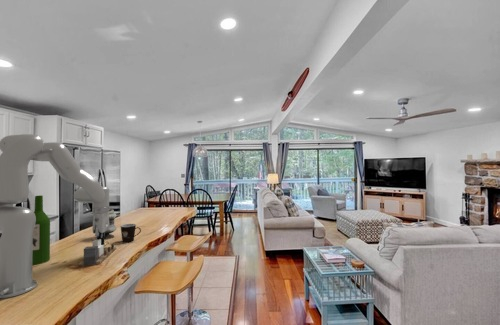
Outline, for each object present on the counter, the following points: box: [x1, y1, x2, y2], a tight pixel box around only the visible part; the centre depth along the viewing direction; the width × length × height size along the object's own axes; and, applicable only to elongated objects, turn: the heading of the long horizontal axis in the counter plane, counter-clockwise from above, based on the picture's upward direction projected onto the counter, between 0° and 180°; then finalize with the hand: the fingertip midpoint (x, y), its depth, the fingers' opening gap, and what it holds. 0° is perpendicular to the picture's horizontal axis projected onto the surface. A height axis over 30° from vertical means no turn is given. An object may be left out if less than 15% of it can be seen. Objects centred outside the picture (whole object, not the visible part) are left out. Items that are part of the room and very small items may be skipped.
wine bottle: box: [32, 195, 51, 266], centre depth 121 cm, size 9×9×32 cm
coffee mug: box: [120, 223, 142, 244], centre depth 153 cm, size 12×9×10 cm
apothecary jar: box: [104, 208, 117, 241], centre depth 162 cm, size 12×12×18 cm
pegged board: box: [78, 240, 117, 267], centre depth 128 cm, size 22×9×8 cm, turn 11°
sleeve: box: [92, 238, 104, 257], centre depth 125 cm, size 5×4×8 cm
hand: (100, 245), depth 129 cm, fingers closed
